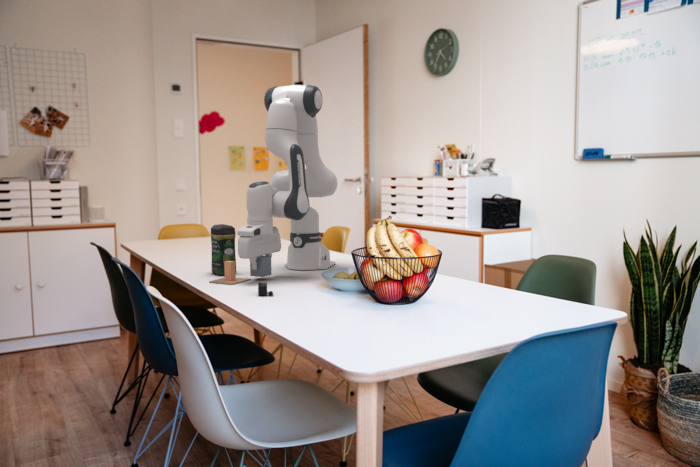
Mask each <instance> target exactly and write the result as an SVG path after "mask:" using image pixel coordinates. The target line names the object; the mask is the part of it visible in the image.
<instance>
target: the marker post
mask: <svg viewBox="0 0 700 467" xmlns="http://www.w3.org/2000/svg"><path fill="white" fill-rule="evenodd" d="M224 269H225V275H224V277H222V278H217V279H214V280H213V279H212V280H210V281H208V282H209V284H219V285H220V284H221V285H230V286H235V285H238V284H242V283H246V282H249V281H251V278H247V277H236V273H235V261H225V262H224Z"/></svg>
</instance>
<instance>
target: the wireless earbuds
mask: <svg viewBox="0 0 700 467" xmlns="http://www.w3.org/2000/svg"><path fill="white" fill-rule="evenodd" d="M257 287H258V288H257V293H258V295H257V296H259V297H266V296H267V295H268V296H270V297H271V296H274V293H273V291H272V290H270V291H269V292H268V283H267V282H258V284H257Z"/></svg>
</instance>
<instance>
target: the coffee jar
mask: <svg viewBox="0 0 700 467" xmlns="http://www.w3.org/2000/svg"><path fill="white" fill-rule="evenodd" d="M210 240H211V241H210V242H211V273H212V274H215V275H216V276H217V275H218V276H225V269H224V262H225V261H235V274H236V273H237V261H236V260H237V259H236V258H237V257H236V228H235V226H233V225H228V224H224V223H223V224H222V223H219V224H214V225H212V226H211V227H210Z"/></svg>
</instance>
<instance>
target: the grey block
mask: <svg viewBox="0 0 700 467" xmlns="http://www.w3.org/2000/svg"><path fill="white" fill-rule="evenodd" d="M256 263H257V264H258V269H256V270H253V269H252V264H251V262H250V261H249V267H250V268H249V269H250V270H249V271H250V274H249V275H250V277H259V278H264V277H268V276H271V275H272V258H271V256H265V255H262V256H257V260H256Z"/></svg>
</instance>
